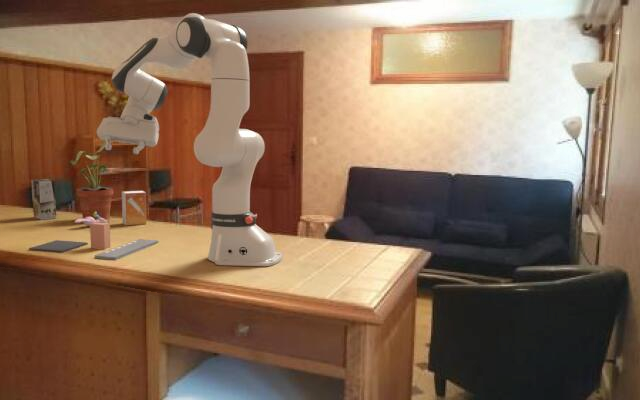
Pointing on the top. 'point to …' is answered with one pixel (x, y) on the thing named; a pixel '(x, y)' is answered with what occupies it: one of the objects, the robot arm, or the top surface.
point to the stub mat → (58, 246)
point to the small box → (134, 207)
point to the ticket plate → (126, 249)
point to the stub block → (100, 235)
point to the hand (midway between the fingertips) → (121, 151)
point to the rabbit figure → (92, 220)
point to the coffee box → (44, 199)
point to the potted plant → (94, 191)
